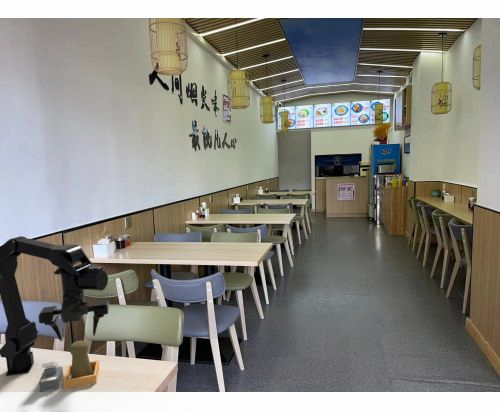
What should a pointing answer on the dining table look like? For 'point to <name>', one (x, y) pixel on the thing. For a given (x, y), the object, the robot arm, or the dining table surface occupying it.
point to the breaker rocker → (49, 364)
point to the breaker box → (51, 378)
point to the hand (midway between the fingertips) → (78, 337)
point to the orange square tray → (81, 380)
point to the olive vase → (80, 359)
